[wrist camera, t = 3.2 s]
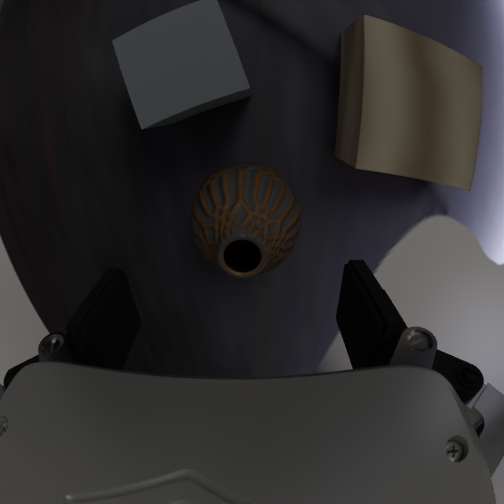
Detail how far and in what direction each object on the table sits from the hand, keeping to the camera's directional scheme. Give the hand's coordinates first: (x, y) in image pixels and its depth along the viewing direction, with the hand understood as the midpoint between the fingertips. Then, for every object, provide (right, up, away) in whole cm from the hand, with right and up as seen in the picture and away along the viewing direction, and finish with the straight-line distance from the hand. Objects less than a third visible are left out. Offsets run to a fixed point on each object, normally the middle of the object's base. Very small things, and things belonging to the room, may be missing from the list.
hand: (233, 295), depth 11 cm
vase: (0, +6, +10) cm, 11 cm away
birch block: (+12, +13, +5) cm, 19 cm away
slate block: (-3, +14, +5) cm, 15 cm away
